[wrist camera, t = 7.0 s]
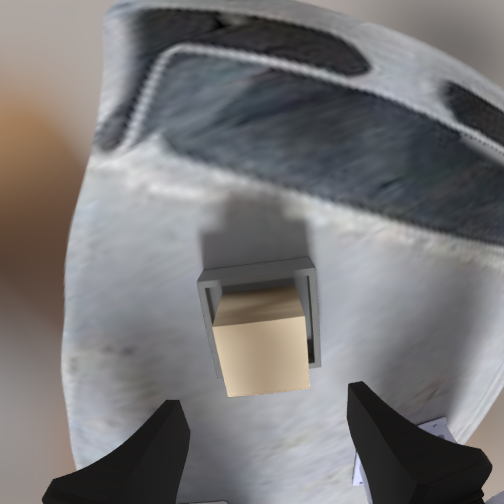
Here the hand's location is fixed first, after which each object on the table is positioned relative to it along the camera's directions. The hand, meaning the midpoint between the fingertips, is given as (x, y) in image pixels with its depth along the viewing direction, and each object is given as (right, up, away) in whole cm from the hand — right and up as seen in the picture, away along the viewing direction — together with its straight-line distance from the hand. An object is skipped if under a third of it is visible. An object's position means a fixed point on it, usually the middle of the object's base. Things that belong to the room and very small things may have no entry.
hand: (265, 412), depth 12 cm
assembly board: (0, +3, +9) cm, 9 cm away
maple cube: (0, +2, +8) cm, 8 cm away
